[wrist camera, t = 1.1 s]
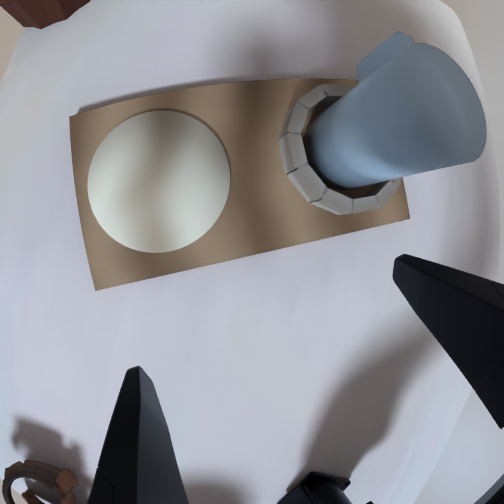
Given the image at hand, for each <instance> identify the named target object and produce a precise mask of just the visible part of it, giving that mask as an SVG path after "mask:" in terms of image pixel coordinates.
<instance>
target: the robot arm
mask: <svg viewBox="0 0 504 504" xmlns="http://www.w3.org/2000/svg"><path fill="white" fill-rule="evenodd" d="M393 280H394V282H395V284H396V285H397V286H398V288H399V289H400V291H401V292H402V294H403V295H404V297H405V298H406V300H407V301H408V303H409V304H410V306H411V307H412V309H413V310H414V311H415V313H416V314H417V315H418V317H419V318H420V319H421V320H422V322H423V323H424V324H425V325H426V327H427V328H428V329H429V330H430V332H431V333H432V334H433V335H434V337H435V338H436V339H437V341H438V342H439V343H440V344H441V346H442V347H443V348H444V350H445V351H446V352H447V353H448V355H449V356H450V357H451V359H452V360H453V361H454V363H455V364H456V365H457V367H458V368H459V370H460V371H461V372H462V374H463V375H464V376H465V378H466V379H467V381H468V382H469V383H470V385H471V386H472V388H473V389H474V390H475V392H476V394H477V395H478V396H479V398H480V399H481V400H482V402H483V403H484V405H485V407H486V408H487V409H488V411H489V413H490V414H491V416H492V417H493V419H494V420H495V422H496V423H497V425H498V426H499V428H500V429H502V428H503V427H504V284H501V283H498V282H495V281H492V280H491V281H490V280H489V279H485V278H482V277H479V276H476V275H473V274H470V273H467V272H464V271H460V270H457V269H454V268H451V267H448V266H444V265H441V264H438V263H434V262H431V261H428V260H424V259H421V258H418V257H414V256H411V255H407V254H403V255H401V256H399V257H397V258H396V259H395V261H394V268H393ZM350 483H351V482H350V480H349V479H344V478H340V477H335V476H330V475H326V474H321V473H317V472H311V473H310V474H308V475H307V477H306V478H305V479H304V480H303V481H302V482H301V483H300V484H299V485H298V486H297V487H296V488H295V489H294V490H293V491H292V492H291V493H290V494H288V495H287V496H286V497H285V498H284V499H283V500H282V501H281V502H280V503H279V504H352V503H351V502H350V500H349V499H348V498H347V496H346V495H345V493H344V492H343V491H344V490H345V489H346V488H347V487H348V486H349V485H350ZM87 504H189V502H188V499H187V496H186V493H185V490H184V486H183V483H182V479H181V476H180V472H179V469H178V465H177V461H176V458H175V454H174V450H173V446H172V442H171V438H170V433H169V430H168V426H167V423H166V420H165V417H164V414H163V411H162V409H161V406H160V403H159V400H158V397H157V393H156V390H155V387H154V384H153V382H152V380H151V379H150V378H149V376H148V375H147V374H146V373H145V371H144V370H143V369H142V368H141V367H140V366H136V367H133V368H130V369H128V370H127V372H126V374H125V377H124V380H123V383H122V386H121V389H120V392H119V395H118V398H117V401H116V405H115V408H114V411H113V414H112V417H111V421H110V424H109V427H108V431H107V434H106V437H105V441H104V444H103V448H102V452H101V455H100V459H99V463H98V468H97V470H96V474H95V478H94V481H93V485H92V488H91V492H90V495H89V498H88V501H87ZM366 504H373V503H372V502H371V501H370V502H368V503H366ZM474 504H504V474H503V475H502V476H501V478H500V479H499V480H498V481H497V482H496V483H495V484H494V485H493V486H492V487H491V488H490V489H489V490H488V491H487V492H486V493H485V494H484V495H483V496H482V497H481V498H480V499H479V500H478V501H477V502H475V503H474Z"/></svg>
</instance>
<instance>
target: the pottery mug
mask: <svg viewBox="0 0 504 504" xmlns="http://www.w3.org/2000/svg"><path fill="white" fill-rule="evenodd" d="M23 477H25V478H31V479H34V480H37V481H39V482H41V483H42V484H44V485H46V486H47V487H48V488H50V489H51V490H53V489H54V486H56V487H57V488H58V489H59V490H60V492H61V494H62V495H63V497H62V498H61V499H60V502H61V504H76V501H75V498H74V495H73V493H72V491H71V489H72V488H73V487H74V486H75V485H78V480H77V478H76V477H75V476H74V475H73V474H72V472H71V471H70V470H65V469H64V470H62V471H61V470H60V469H59V468H58V467H55V466H52V465H49V464H45V463H42V462H37V461H31V460H25V461H24V463H22V462H20V461H18V462H16V463H14V464H13V465H11V466H10V467H8V468H6V469H5V478H4V480H3V486H2V489H3V490H2V493H3V497H4V500H5V502H6V504H15V503H14V501H13V498H12V495H11V485H12V483H13V481H14V480H15V479H17V478H23ZM21 495H22V497H23V498H24V499H25V500H26V502H27V503H28V504H45V503H43V502H42V501H41V500H39V499H38V498H37V497H36V496H35V495H34V493H33V492H32V491H31V490H30V489H28V490H26V491H25V492H24V493H22V494H21Z"/></svg>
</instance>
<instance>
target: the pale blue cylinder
mask: <svg viewBox="0 0 504 504" xmlns="http://www.w3.org/2000/svg"><path fill="white" fill-rule="evenodd" d="M356 68H357V75H358V81H359V84H358V85H357V86H356V87H354V88H353V89H352V90H350V91H349V92H348V93H347V94H345V95H344V96H343V97H341V98H340V99H339V100H338V101H336V102H335V103H334V104H333V105H331V106H330V107H329V108H327V109H326V110H325V111H324V112H323V113H321V114H320V115H319V116H318V117H316V118H315V119H314V120H313V121H312V122H311V123H310V124H309V125H308V127H307V129H306V131H305V134H304V138H303V145H304V149H305V154H306V158H307V162H308V165H309V166H310V167H311V168H312V169H313V171H314V172H315V173H316V174H317V176H318V177H319V178H320V179H321V181H322V182H323V183H324V184H326V185H327V186H330V187H332V188H335V189H339V190H349V189H354V188H358V187H362V186H366V185H370V184H375V183H379V182H383V181H387V180H391V179H396V178H400V177H404V176H409V175H413V174H418V173H422V172H427V171H431V170H436V169H440V168H445V167H450V166H454V165H459V164H464V163H469V162H472V161H475V160H476V159H478V158H479V157H480V155H481V154H482V152H483V150H484V147H485V143H486V121H485V116H484V112H483V108H482V105H481V102H480V99H479V97H478V95H477V92H476V90H475V88H474V87H473V85H472V83H471V81H470V80H469V78H468V77H467V75H466V74H465V72H464V71H463V70H462V69H461V67H460V66H459V65H458V64H457V63H456V62H455V61H454V60H453V59H452V58H451V57H450V56H448V55H447V54H446V53H445V52H443V51H442V50H440V49H438V48H436V47H434V46H432V45H429V44H424V43H417V44H414V41H413V38H412V37H410V36H407V35H405V34H403V33H401V32H398V31H397V32H396V33H395V34H394V35H392V36H391V37H390V38H389V39H387V40H386V41H385V42H384V43H382V44H381V45H380V46H379V47H378V48H376V49H375V50H374V51H373V52H372V53H370V54H369V55H368V56H367V57H366V58H365V59H363V60H362V61H361V62H360V63H359V64H357V65H356Z"/></svg>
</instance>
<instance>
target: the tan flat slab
mask: <svg viewBox="0 0 504 504" xmlns="http://www.w3.org/2000/svg"><path fill="white" fill-rule="evenodd" d="M358 84H359V81H358V80H345V79H275V80H257V81H244V82H233V83H224V84H215V85H207V86H200V87H193V88H186V89H180V90H174V91H169V92H163V93H158V94H153V95H148V96H144V97H139V98H135V99H130V100H126V101H122V102H118V103H114V104H110V105H107V106H103V107H99V108H96V109H92V110H89V111H86V112H82V113H79V114H76V115H73V116H70V117H69V119H70V139H71V152H72V163H73V173H74V181H75V189H76V197H77V204H78V210H79V216H80V222H81V228H82V233H83V238H84V243H85V248H86V253H87V258H88V262H89V267H90V271H91V275H92V279H93V283H94V287H95V291H97V290H101V289H106V288H110V287H114V286H119V285H123V284H128V283H132V282H137V281H141V280H145V279H150V278H154V277H159V276H163V275H168V274H172V273H176V272H181V271H185V270H190V269H194V268H198V267H203V266H207V265H211V264H216V263H220V262H225V261H229V260H233V259H238V258H242V257H247V256H251V255H255V254H260V253H264V252H268V251H273V250H277V249H281V248H286V247H290V246H294V245H299V244H303V243H307V242H312V241H316V240H320V239H325V238H329V237H333V236H338V235H342V234H346V233H351V232H355V231H359V230H364V229H368V228H372V227H377V226H381V225H385V224H389V223H394V222H398V221H402V220H407V219H410V215H409V209H408V203H407V198H406V192H405V187H404V182H403V177H400V178H396V179H391V180H387V181H383V182H379V183H375V184H370V185H366V186H362V187H358V188H354V189H349V190H339V189H335V188H332V187H330V186H327V185H326V184H324V183H323V182H322V181H321V179H320V178H319V177H318V176H317V174H316V173H315V172H314V171H313V169H312V168H311V167H310V166H309V165H308V162H307V158H306V154H305V149H304V145H303V138H304V134H305V131H306V129H307V127H308V125H309V124H310V123H311V122H312V121H313V120H314V119H315V118H316V117H318V116H319V115H320V114H321V113H323V112H324V111H325V110H326V109H327V108H329V107H330V106H331V105H333V104H334V103H335V102H336V101H338V100H339V99H340V98H341V97H343V96H344V95H345V94H347V93H348V92H349V91H350V90H352V89H353V88H354V87H356V86H357V85H358Z"/></svg>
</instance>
